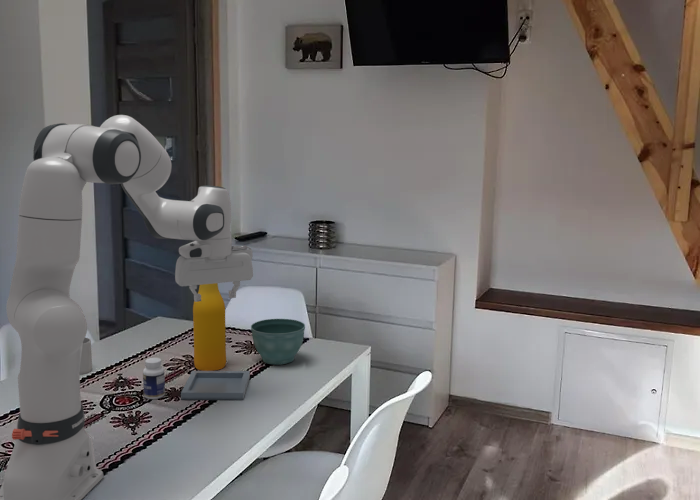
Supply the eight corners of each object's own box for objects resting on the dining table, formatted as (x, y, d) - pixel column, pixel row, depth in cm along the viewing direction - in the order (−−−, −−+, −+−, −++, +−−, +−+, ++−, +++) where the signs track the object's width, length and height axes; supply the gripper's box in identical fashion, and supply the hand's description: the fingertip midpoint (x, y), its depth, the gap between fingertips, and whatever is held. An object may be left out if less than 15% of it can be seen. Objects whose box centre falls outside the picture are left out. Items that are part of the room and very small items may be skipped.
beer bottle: (231, 362, 212) (229, 267, 207) (218, 373, 203) (216, 273, 198) (202, 359, 214) (200, 265, 209) (188, 369, 205) (186, 271, 200)
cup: (82, 376, 199) (81, 346, 197) (51, 373, 201) (49, 342, 199) (97, 368, 205) (96, 338, 204) (66, 364, 208) (65, 335, 206)
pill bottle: (139, 396, 185) (137, 361, 183) (154, 390, 190) (152, 355, 188) (154, 401, 183) (153, 365, 181) (169, 394, 187) (168, 358, 185)
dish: (243, 400, 184) (243, 392, 184) (181, 400, 184) (181, 392, 183) (249, 377, 200) (249, 371, 200) (192, 377, 199) (192, 370, 199)
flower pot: (241, 357, 216) (240, 323, 214) (286, 348, 226) (286, 315, 224) (268, 373, 204) (268, 336, 202) (315, 362, 213) (315, 327, 211)
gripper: (248, 243, 192) (248, 292, 195) (172, 248, 183) (174, 300, 185) (256, 246, 187) (256, 298, 189) (179, 252, 177) (180, 306, 180)
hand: (215, 299), depth 187 cm, fingers open, 8 cm apart
